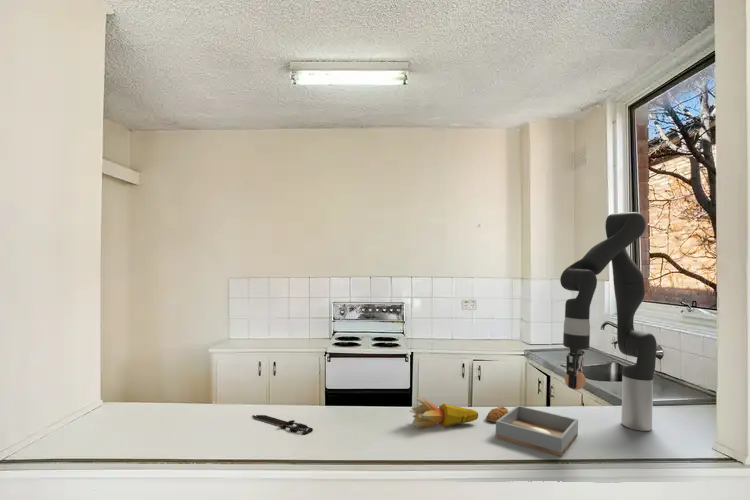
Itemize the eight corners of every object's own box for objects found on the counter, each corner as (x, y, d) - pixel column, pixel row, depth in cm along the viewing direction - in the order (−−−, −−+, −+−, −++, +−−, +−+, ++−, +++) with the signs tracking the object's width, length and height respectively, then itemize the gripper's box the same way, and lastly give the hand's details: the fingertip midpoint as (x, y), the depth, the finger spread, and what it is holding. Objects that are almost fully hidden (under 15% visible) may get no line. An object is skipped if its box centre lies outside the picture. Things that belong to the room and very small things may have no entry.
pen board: (517, 419, 154) (517, 416, 154) (577, 435, 142) (577, 431, 142) (495, 437, 139) (495, 433, 139) (561, 456, 126) (561, 451, 126)
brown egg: (566, 385, 140) (567, 366, 140) (587, 389, 137) (587, 370, 137) (562, 389, 135) (562, 370, 135) (583, 393, 132) (583, 373, 132)
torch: (476, 435, 149) (408, 431, 143) (468, 417, 156) (403, 412, 150) (484, 418, 146) (415, 413, 139) (476, 400, 152) (410, 395, 146)
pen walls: (517, 416, 154) (517, 405, 155) (577, 431, 142) (578, 419, 142) (495, 433, 139) (495, 421, 139) (561, 452, 126) (561, 438, 126)
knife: (248, 418, 149) (249, 414, 149) (263, 413, 155) (263, 409, 155) (300, 438, 135) (300, 433, 135) (315, 431, 140) (315, 427, 140)
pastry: (498, 426, 149) (498, 414, 149) (481, 420, 154) (481, 409, 154) (512, 419, 155) (512, 408, 155) (495, 414, 160) (495, 404, 160)
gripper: (584, 336, 128) (583, 393, 128) (593, 331, 140) (592, 383, 140) (558, 333, 133) (556, 388, 132) (569, 328, 144) (567, 379, 144)
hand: (574, 385), depth 136 cm, fingers closed on brown egg, 6 cm apart
